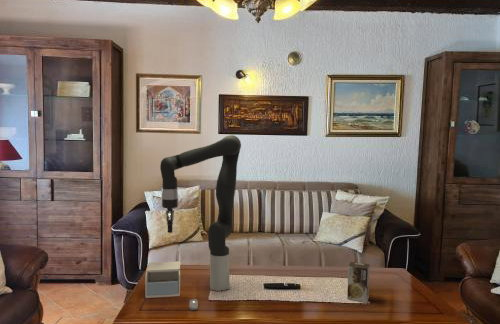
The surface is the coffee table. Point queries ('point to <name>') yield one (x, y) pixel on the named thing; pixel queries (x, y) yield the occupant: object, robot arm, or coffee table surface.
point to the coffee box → (358, 282)
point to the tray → (162, 287)
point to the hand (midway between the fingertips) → (170, 232)
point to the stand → (193, 304)
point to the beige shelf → (162, 275)
